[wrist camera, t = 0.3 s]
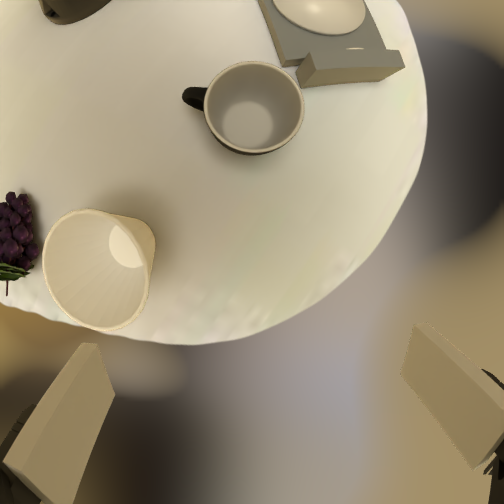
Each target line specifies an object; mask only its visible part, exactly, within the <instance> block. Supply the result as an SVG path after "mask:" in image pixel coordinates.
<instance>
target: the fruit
mask: <svg viewBox="0 0 504 504" xmlns="http://www.w3.org/2000/svg"><path fill="white" fill-rule="evenodd" d="M28 202H29V199H28V197H27V195H26V194H20V195H19V196H18V198H16V195H15V192H9V193H7V194H6V202H2V203H0V274H1V275H0V281H6V283H7V284H6V296H8V281H10V280H12V281H15V280H18V279H19V278H20V277H25V275H27V274H30V273H29V272H26V271H28V270H29V269H32V267H33V268H34V265H32V263H30V262H31V261H32V260H33V259H35V258H37V256H38V254H39V249H38V246H37V244H36V243H31V242H32V239H33V233H32V224H31V217H32V209H31V206H30V205H29V204H27V203H28ZM8 204H9V205H8ZM21 254H22V256H21Z"/></svg>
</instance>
